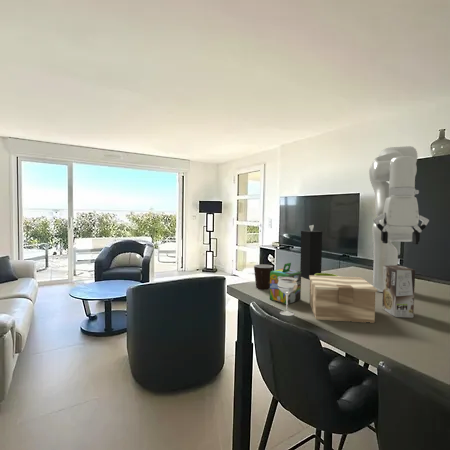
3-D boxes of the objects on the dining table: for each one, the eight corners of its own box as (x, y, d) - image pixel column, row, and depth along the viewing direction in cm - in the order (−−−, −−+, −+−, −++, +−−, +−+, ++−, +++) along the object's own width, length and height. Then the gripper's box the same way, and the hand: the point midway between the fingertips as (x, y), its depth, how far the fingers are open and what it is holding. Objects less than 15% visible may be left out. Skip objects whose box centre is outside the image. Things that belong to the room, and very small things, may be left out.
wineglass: (284, 317, 100) (284, 281, 100) (273, 311, 106) (273, 277, 106) (301, 315, 103) (301, 279, 102) (289, 309, 109) (289, 275, 109)
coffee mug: (260, 284, 145) (260, 263, 145) (276, 287, 140) (276, 266, 139) (246, 289, 136) (246, 267, 136) (262, 292, 131) (262, 269, 130)
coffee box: (414, 317, 101) (416, 269, 100) (394, 317, 101) (396, 269, 100) (399, 309, 110) (400, 264, 109) (381, 308, 110) (382, 264, 109)
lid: (308, 288, 115) (309, 274, 115) (361, 290, 112) (361, 276, 112) (315, 302, 98) (315, 286, 98) (377, 305, 95) (377, 289, 95)
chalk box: (282, 295, 127) (282, 260, 126) (301, 300, 120) (302, 263, 120) (268, 299, 120) (269, 262, 120) (288, 305, 114) (289, 265, 113)
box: (309, 303, 116) (310, 277, 115) (359, 306, 113) (360, 279, 112) (315, 319, 99) (316, 289, 98) (374, 322, 96) (375, 291, 96)
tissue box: (299, 276, 164) (300, 224, 162) (311, 275, 167) (312, 224, 165) (309, 279, 156) (310, 225, 155) (321, 278, 159) (322, 225, 158)
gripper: (423, 194, 106) (422, 243, 106) (371, 194, 109) (369, 241, 109) (435, 192, 99) (433, 245, 99) (378, 192, 101) (376, 243, 102)
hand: (399, 243), depth 104 cm, fingers open, 9 cm apart
